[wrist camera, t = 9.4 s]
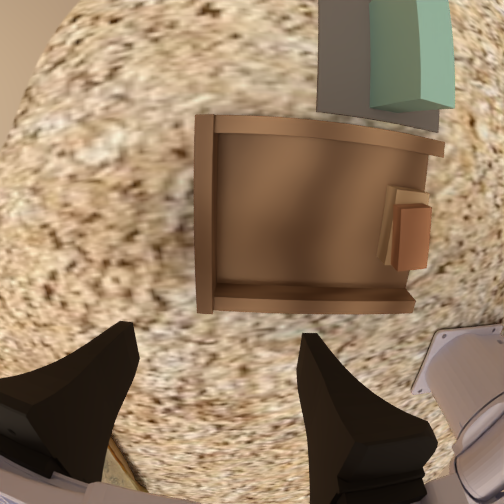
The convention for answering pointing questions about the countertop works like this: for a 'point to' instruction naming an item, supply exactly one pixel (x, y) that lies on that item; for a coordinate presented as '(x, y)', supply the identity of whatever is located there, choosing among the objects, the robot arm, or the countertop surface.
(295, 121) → the tray
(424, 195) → the offcut lower
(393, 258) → the offcut upper
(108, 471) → the stone slab
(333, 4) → the mat
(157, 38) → the countertop surface
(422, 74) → the block
